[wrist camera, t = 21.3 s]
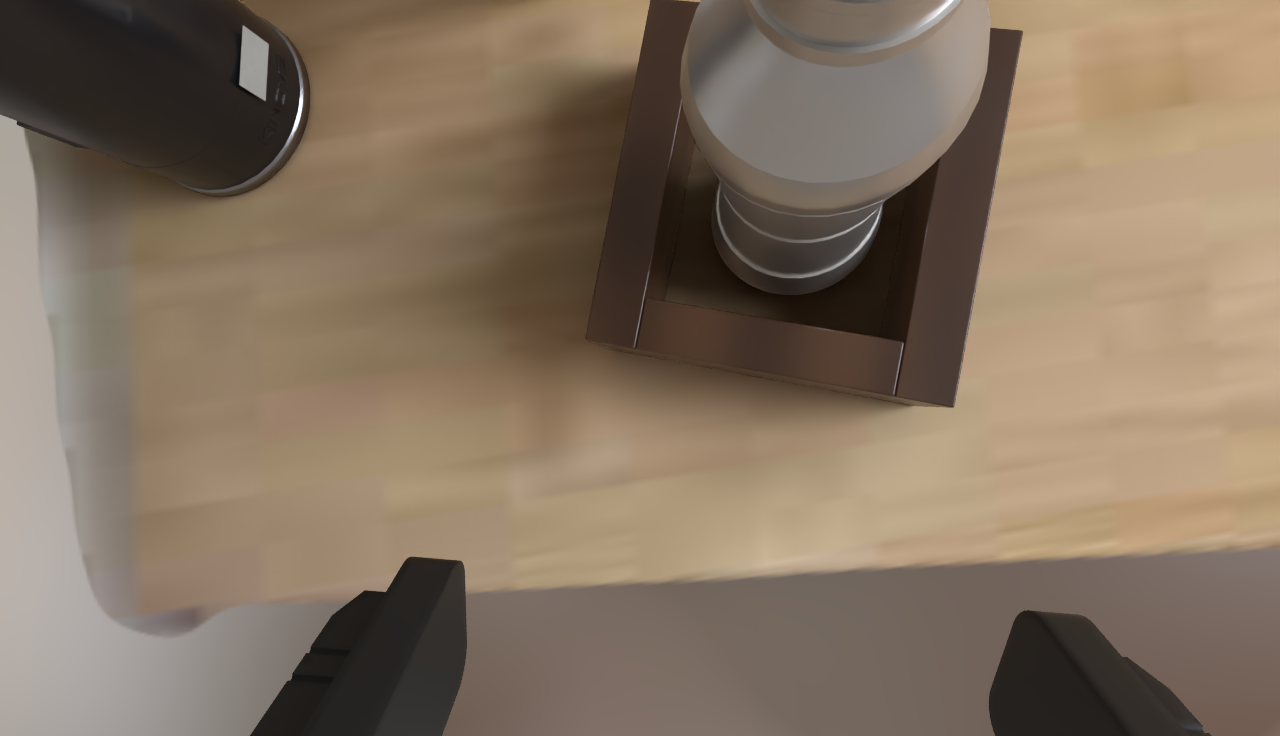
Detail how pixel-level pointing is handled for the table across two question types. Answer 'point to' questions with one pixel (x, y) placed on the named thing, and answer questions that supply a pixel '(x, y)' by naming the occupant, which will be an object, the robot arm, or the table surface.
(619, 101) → the table surface
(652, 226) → the bottle holder
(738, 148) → the silver metal bottle
